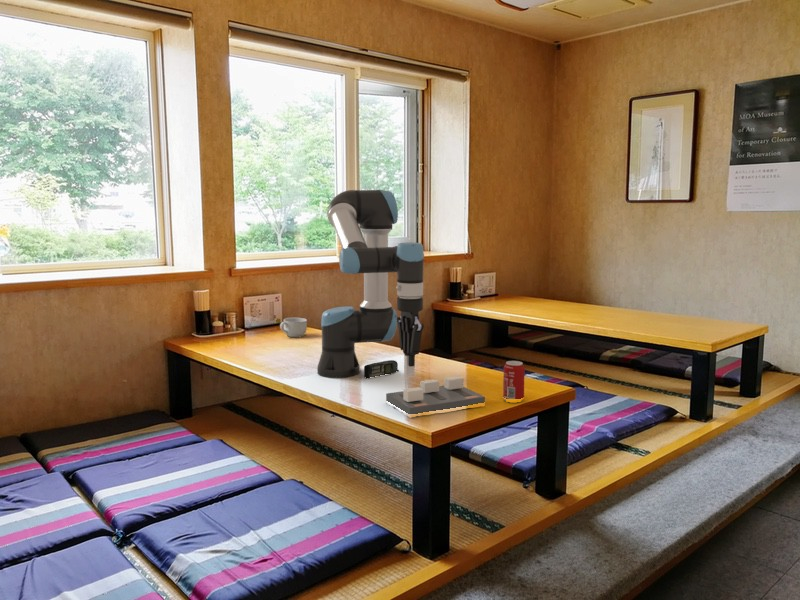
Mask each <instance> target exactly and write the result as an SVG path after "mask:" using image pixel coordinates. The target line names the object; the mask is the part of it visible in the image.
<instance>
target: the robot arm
mask: <svg viewBox="0 0 800 600" xmlns="http://www.w3.org/2000/svg"><path fill="white" fill-rule="evenodd" d="M397 203H398V202H397V199H396V197H395V194H393V192H392V191H390V190H382V189H365V190H363V189H349V190H344V191H341V192H340V193H338V194H337V195H336V196H334V197H333V198H332V200H331V201H330V202H329V204H328V207H327V210H326V211H327V212H326V213H327V216H326V217H327V219H328V221H329V224H330V225H331V226H332V227H333V228H334V230H335V232H336V236H337V239H338V241H339V245H340V246H341V249H340V251H339V257H338V258H339V259H338V262H339V263H338V264H339V270H340V271H341V272H342V273H343V274H353V275H356V274H363V301H361V303H360V304H359V310H355V308H354V306H350V305H349V306H348V305H347V306H338V307H333V308H329V309H327V310H325V311H323V312H322V315H321V321H320V323H321V324H320V326H321V354H320V357H319V361H318V363H317V367H316V369H317V374H318V375H319V376H321V377H325V376H326V378H347V377H346V376H349V377H353V376H356V375H359V374H360V372H361V370H360V369H361V368H360V367H361V366H360V364H359V363H360V362H359V359H358V357H357V353H356V350H355V344H359V343H362V344H363V343H382V342H389V341H391V340H392V339H394V336H395V334H396V333H397V332H396V331H397V328H398V337H399V338H398V339H399V340H398V341H399V347H400V348H399V349H400V350H401V351H402V352H403V355H404V357H403V359H404V360H403V361H404V362H403V364H404V365H403V369H404V371H403V376H404V377H405V378H410V377H411V378H412V377H415V375H416V374H415V373H416V371H415V370H416V369H415V367H416V366H415V365H416V362H415V361H416V355H420V351H421V349H420V347H421V341H422V333H423V330H424V327H425V325H424V323H421V322H420V314H419V312H421V311H423V310H424V298H423V297H422V296H424V258H425V253H424V252H425V251H424V245H423V244H422V243H421V242H413V241H412V242H411V241H409V242H406V241H405V242H400V243H398V245H394V246H391V247H390V246H389V233H390V232H391V231H392V230H393V225H395V224H397V223H398V218H399V210H398V204H397ZM389 273H396V281H397V282H396V283H397V285H396V287H395V288H396V295H397V296H398V297H396V309H397V310H398V311H399V312H400V316H397V314H398V313H397V311H396V309H394V308H393V305H392V303H391V302H390V301H389V296H388V295H389V288H388V287H389ZM397 326H398V327H397ZM352 375H353V376H352Z"/></svg>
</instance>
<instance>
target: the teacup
mask: <svg viewBox="0 0 800 600" xmlns="http://www.w3.org/2000/svg"><path fill="white" fill-rule="evenodd" d="M307 322H308V319H306V318H304V317H303V318H302V317H285V318H284V319H283V321H282V322H281V323H279V328H280V331H282V332H284V334H285V335H286V336H287V337H290V338H300V337H299V336H301V337H303V336H304V335H305V334H306V332H307V329H308V328H307V325H308V323H307ZM302 335H303V336H302Z"/></svg>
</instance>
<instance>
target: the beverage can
mask: <svg viewBox="0 0 800 600" xmlns="http://www.w3.org/2000/svg"><path fill="white" fill-rule="evenodd" d="M523 363H524V362H522V361H519V360H508V361H506V362H505V364H504V366H503V377H502V378H503V379H502V380H503V383H502V384H503V386H502V397H504V398H506V399H521V398H523V397H524V398H525V377H526V376H525V374H526V373H525V370H526V367H525V366H524V365H523ZM504 398H503V399H504Z"/></svg>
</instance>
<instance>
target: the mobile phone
mask: <svg viewBox="0 0 800 600" xmlns="http://www.w3.org/2000/svg"><path fill="white" fill-rule="evenodd" d="M398 368H399V364H398V362H397V360H393V359H392V360H389V359H388V360H384V361H378V362H374V363H373V362H372V363H369V364H365V365H364V366H363V377H364V378H365V377H366V378H365V379H367V378H368V379H371V378H370V377H374V378H376V377H375V376H379V377H381V376H380V375H385V374H390V375H392V374H391V373H393V374H395V373H397V372H399V369H398ZM396 371H397V372H396ZM385 376H386V375H385Z"/></svg>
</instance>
